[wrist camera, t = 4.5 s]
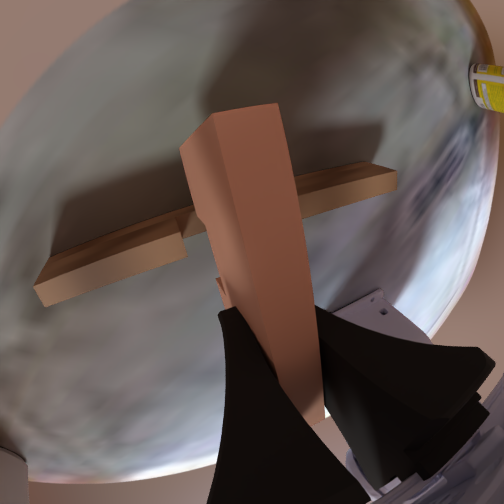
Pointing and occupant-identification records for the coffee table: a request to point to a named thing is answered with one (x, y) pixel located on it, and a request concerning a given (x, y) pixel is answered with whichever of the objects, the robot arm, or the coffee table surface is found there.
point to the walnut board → (190, 233)
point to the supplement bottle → (487, 86)
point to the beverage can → (13, 479)
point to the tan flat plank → (259, 241)
